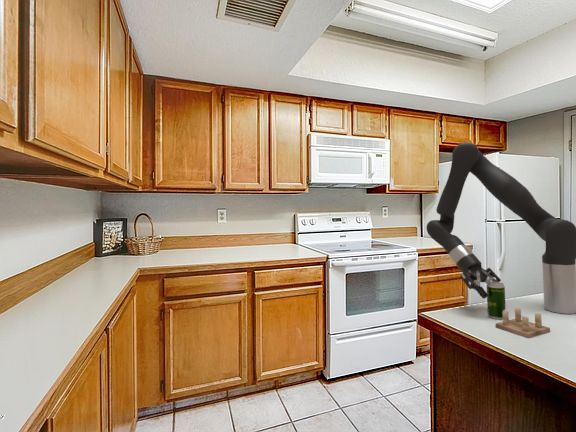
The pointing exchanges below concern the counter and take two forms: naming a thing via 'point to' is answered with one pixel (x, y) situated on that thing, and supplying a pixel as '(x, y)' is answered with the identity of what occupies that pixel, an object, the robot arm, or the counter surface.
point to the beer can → (496, 300)
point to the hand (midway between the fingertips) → (494, 295)
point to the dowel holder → (522, 325)
